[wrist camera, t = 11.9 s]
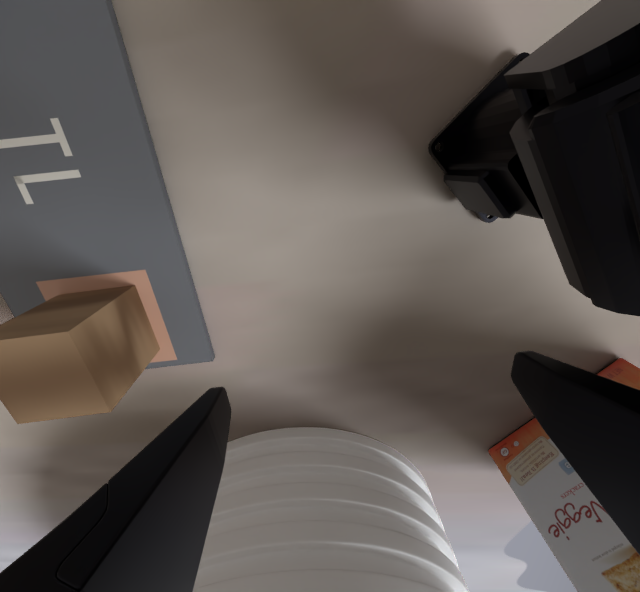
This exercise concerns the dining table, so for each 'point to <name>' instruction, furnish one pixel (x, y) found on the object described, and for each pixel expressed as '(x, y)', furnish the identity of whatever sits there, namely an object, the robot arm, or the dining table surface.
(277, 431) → the plate stack
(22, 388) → the walnut block
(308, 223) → the dining table surface
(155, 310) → the board
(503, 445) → the cracker box
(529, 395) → the robot arm
